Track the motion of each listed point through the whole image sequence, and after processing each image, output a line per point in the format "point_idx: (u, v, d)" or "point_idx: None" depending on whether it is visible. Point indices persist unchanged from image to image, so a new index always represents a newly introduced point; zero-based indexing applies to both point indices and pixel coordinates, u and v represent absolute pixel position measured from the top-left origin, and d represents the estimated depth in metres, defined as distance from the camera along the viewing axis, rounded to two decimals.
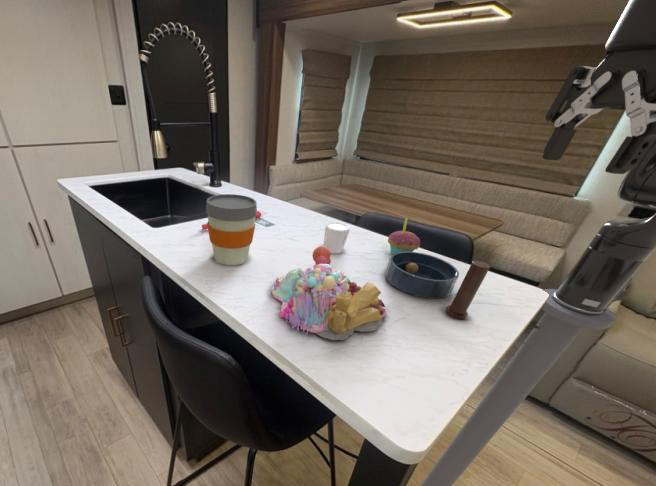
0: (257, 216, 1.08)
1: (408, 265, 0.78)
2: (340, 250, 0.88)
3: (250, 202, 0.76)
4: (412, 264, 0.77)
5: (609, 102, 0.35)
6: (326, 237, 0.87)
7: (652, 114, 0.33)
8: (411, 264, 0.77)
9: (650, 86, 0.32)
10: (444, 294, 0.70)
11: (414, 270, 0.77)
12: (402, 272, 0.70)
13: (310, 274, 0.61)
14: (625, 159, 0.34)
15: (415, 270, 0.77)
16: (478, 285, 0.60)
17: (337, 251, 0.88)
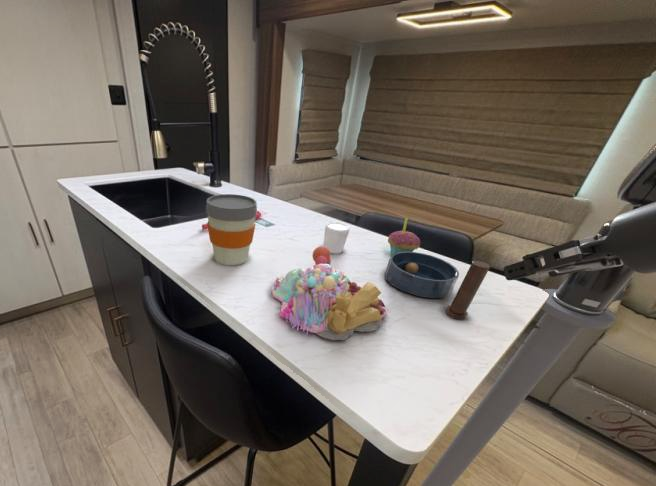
0: (257, 216, 1.08)
1: (408, 265, 0.78)
2: (340, 250, 0.88)
3: (250, 202, 0.76)
4: (412, 264, 0.77)
5: None
6: (326, 237, 0.87)
7: None
8: (411, 264, 0.77)
9: None
10: (444, 294, 0.70)
11: (414, 270, 0.77)
12: (402, 272, 0.70)
13: (310, 274, 0.61)
14: None
15: (415, 270, 0.77)
16: (478, 285, 0.60)
17: (337, 251, 0.88)
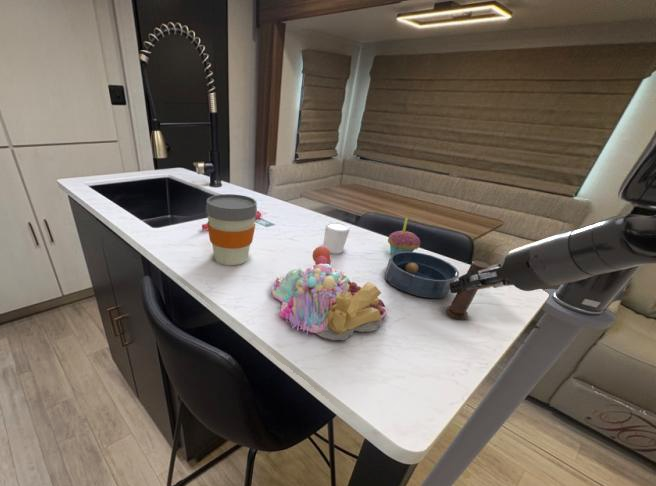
0: (257, 216, 1.08)
1: (408, 265, 0.78)
2: (340, 250, 0.88)
3: (250, 202, 0.76)
4: (412, 264, 0.77)
5: None
6: (326, 237, 0.87)
7: None
8: (411, 264, 0.77)
9: None
10: (444, 294, 0.70)
11: (414, 270, 0.77)
12: (402, 272, 0.70)
13: (310, 274, 0.61)
14: None
15: (415, 270, 0.77)
16: None
17: (337, 251, 0.88)
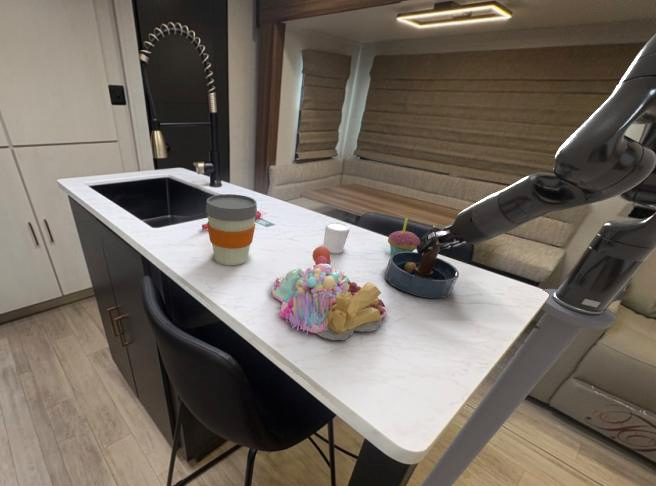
0: (257, 216, 1.08)
1: (406, 265, 0.78)
2: (340, 250, 0.88)
3: (250, 202, 0.76)
4: (409, 263, 0.78)
5: None
6: (326, 237, 0.87)
7: None
8: (408, 263, 0.78)
9: None
10: (444, 294, 0.70)
11: (413, 268, 0.77)
12: (402, 272, 0.70)
13: (310, 274, 0.61)
14: None
15: (414, 268, 0.77)
16: None
17: (337, 251, 0.88)
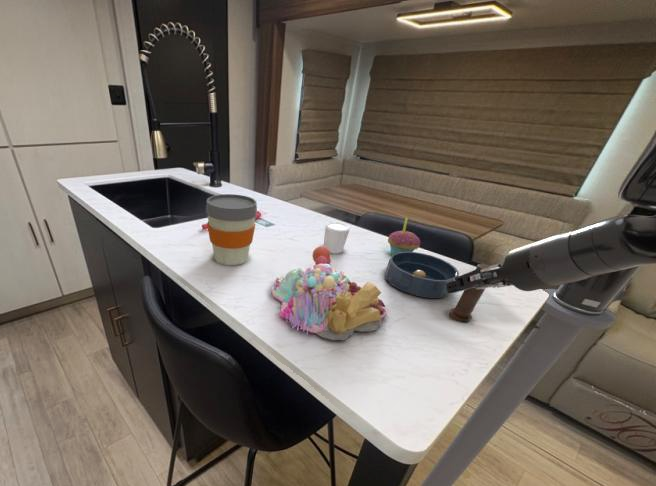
0: (257, 216, 1.08)
1: None
2: (340, 250, 0.88)
3: (250, 202, 0.76)
4: None
5: None
6: (326, 237, 0.87)
7: None
8: None
9: None
10: (444, 294, 0.70)
11: None
12: (402, 272, 0.70)
13: (310, 274, 0.61)
14: None
15: None
16: None
17: (337, 251, 0.88)
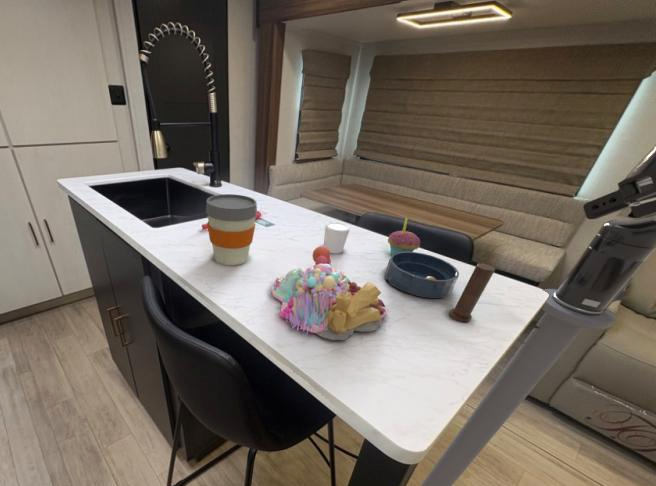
0: (257, 216, 1.08)
1: None
2: (340, 250, 0.88)
3: (250, 202, 0.76)
4: None
5: None
6: (326, 237, 0.87)
7: None
8: None
9: None
10: (444, 294, 0.70)
11: None
12: (402, 272, 0.70)
13: (310, 274, 0.61)
14: None
15: None
16: (483, 288, 0.59)
17: (337, 251, 0.88)
